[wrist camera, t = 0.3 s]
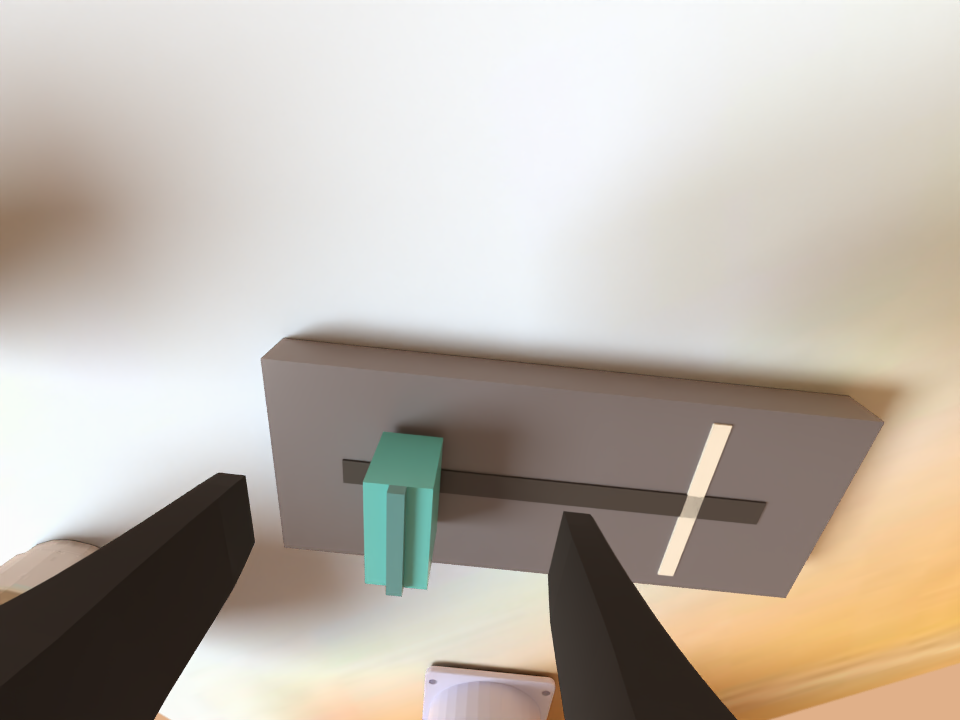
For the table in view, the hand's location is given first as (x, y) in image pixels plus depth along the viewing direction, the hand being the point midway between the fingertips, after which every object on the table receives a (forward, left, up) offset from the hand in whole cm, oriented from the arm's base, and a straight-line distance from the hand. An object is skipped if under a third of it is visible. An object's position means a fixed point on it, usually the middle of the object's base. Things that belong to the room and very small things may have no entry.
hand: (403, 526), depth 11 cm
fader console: (-5, -5, -10) cm, 12 cm away
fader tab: (-5, +1, -7) cm, 9 cm away
